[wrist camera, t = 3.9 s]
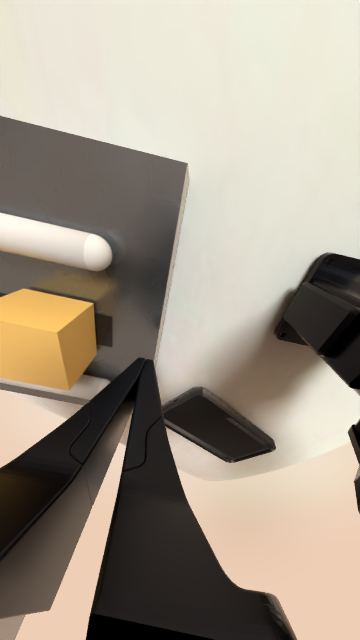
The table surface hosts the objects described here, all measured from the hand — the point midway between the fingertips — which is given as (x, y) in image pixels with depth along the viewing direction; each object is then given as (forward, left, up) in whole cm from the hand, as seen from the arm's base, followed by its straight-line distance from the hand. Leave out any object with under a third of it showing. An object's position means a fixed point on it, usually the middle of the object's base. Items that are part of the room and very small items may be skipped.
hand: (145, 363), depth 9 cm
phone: (-9, +14, -6) cm, 18 cm away
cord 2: (+8, -5, -2) cm, 9 cm away
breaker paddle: (+6, 0, -2) cm, 6 cm away
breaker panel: (+8, 0, -5) cm, 9 cm away
